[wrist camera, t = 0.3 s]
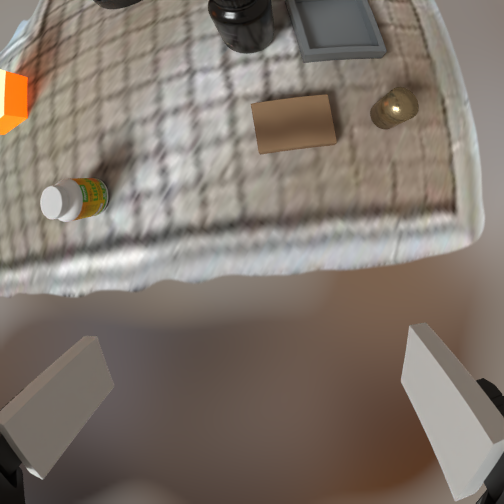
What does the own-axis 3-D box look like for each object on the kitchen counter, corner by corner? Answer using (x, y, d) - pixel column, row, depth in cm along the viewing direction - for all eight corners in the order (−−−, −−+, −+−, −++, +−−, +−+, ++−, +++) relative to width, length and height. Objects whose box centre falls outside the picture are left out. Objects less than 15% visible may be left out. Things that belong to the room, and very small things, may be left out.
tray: (285, 1, 30) (285, -8, 27) (358, -2, 28) (362, -11, 26) (303, 63, 32) (304, 55, 29) (381, 58, 30) (386, 51, 28)
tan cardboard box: (252, 108, 34) (250, 103, 32) (324, 99, 33) (327, 94, 31) (260, 154, 36) (258, 152, 33) (333, 145, 34) (336, 142, 32)
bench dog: (367, 103, 32) (384, 87, 25) (392, 102, 32) (413, 87, 25) (373, 130, 33) (392, 119, 26) (399, 128, 32) (421, 118, 26)
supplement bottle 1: (116, 198, 38) (73, 204, 29) (93, 222, 39) (50, 234, 30) (96, 170, 38) (52, 170, 28) (75, 195, 39) (31, 201, 29)
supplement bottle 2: (246, 7, 31) (232, -44, 19) (285, 31, 31) (284, -20, 19) (211, 38, 32) (185, -8, 20) (250, 64, 33) (236, 19, 21)
